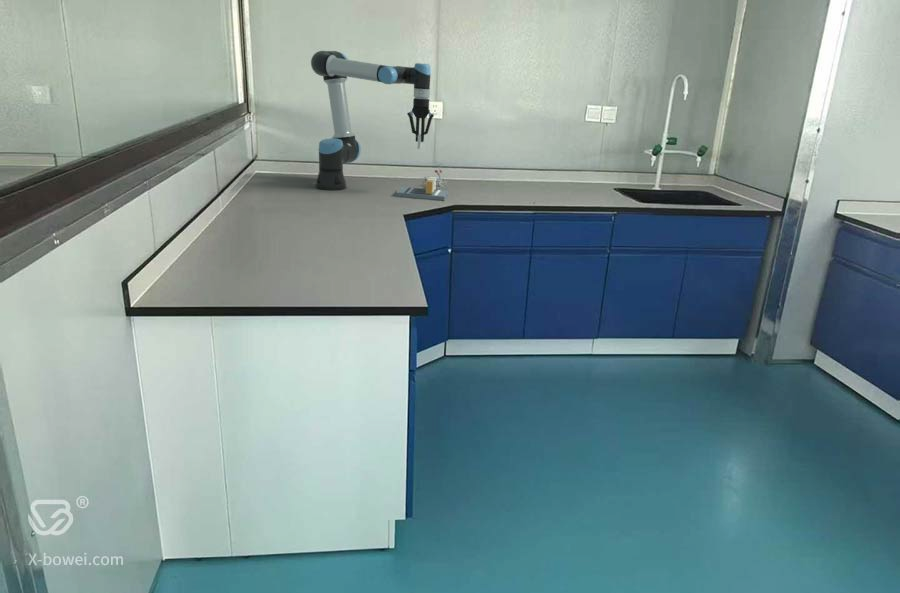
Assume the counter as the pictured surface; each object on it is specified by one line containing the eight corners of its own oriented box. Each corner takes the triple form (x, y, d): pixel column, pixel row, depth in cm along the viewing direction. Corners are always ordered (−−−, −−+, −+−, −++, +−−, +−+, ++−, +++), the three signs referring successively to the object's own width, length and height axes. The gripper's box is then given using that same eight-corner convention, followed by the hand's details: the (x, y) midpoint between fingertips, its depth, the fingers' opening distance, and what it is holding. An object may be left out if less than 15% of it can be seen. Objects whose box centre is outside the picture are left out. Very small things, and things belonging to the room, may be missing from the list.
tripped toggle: (425, 193, 306) (426, 181, 304) (426, 192, 309) (427, 180, 307) (431, 194, 306) (432, 181, 304) (432, 192, 309) (433, 180, 307)
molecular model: (436, 194, 320) (436, 174, 316) (419, 192, 324) (418, 173, 320) (453, 186, 336) (453, 168, 332) (436, 185, 340) (436, 166, 336)
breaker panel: (395, 196, 307) (396, 179, 304) (401, 190, 320) (402, 174, 317) (444, 200, 305) (445, 183, 302) (448, 194, 318) (449, 178, 315)
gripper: (406, 97, 296) (404, 148, 305) (433, 99, 295) (431, 150, 303) (409, 96, 303) (407, 146, 312) (436, 98, 302) (433, 148, 310)
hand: (419, 148), depth 308 cm, fingers closed
